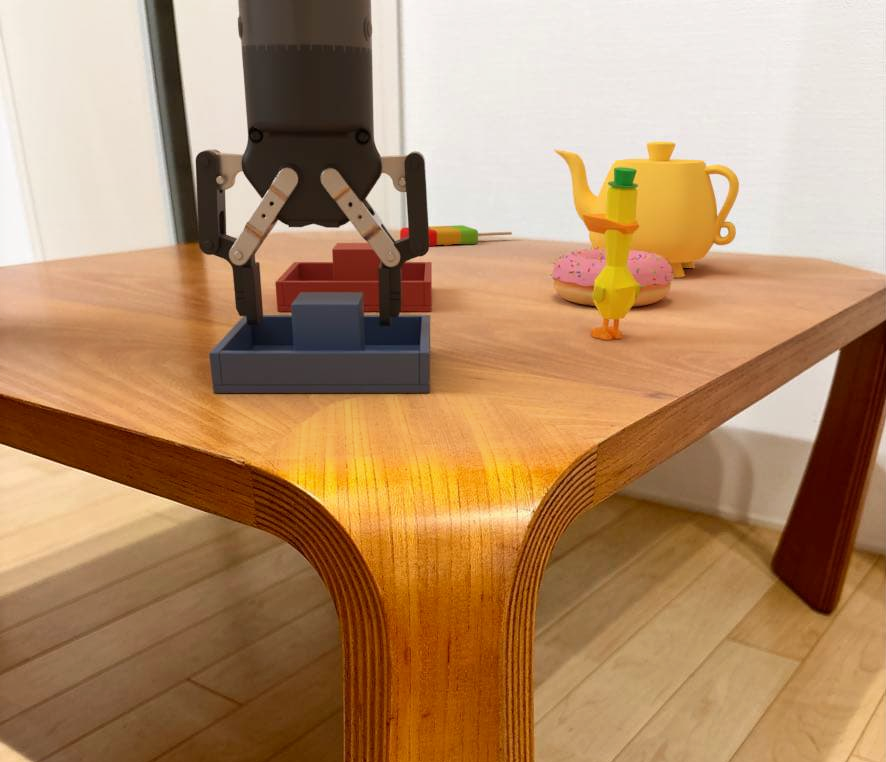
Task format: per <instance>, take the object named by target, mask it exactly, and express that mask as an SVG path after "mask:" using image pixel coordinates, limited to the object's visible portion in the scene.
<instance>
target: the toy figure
mask: <svg viewBox="0 0 886 762" xmlns="http://www.w3.org/2000/svg"><path fill="white" fill-rule="evenodd" d="M636 172H637V170H635V169H632V168H623V167H618V168H614V181H611V182H608V185H611V186H610V188H609V189H608V190H607V202H606V214H586V215H583V217H584V222H583V223H584V225H585V227H586V229H587V230H588V232H589V231H592V232H596V233H601V234H605V245H606V266H605V267H604V269H603V270H602V271H601V273H600V274H599V275H598V276H597V278H596V279H595V283H594V291H593V293H592V297H591V298H593V301H594V303H595V305H596V306H595V308H596V309H597V311H598V312H599V315H600V316H601V318H602V319H603V320H602V326H601V327H593V328H591V329H590V336H591V337H593V338H596V339H601V340H605V341H609V340H612V339H615V340H617V339H622V338H623V334H622V333H621V331H620V328H619V327H620V320H622V319H624V318H625V317H626V316H627V314H628V313H629V312H630V310H631V309H632V306H633V305H634V302H635V298H637V297H638V296H639V291H640V286H641V285H640V284H639V283H637V282H636V281H635V279H634V278H633V276H632V274H631V272H630V271H629V269H628V267H627V262H628V257H629V252H630V247H631V242H632V237H633V233H634V232H635V231H636V230H637V229H638V228H639V224H638V222H637V221H636V219H635V217H636V205H637V193H638V190H637V189H636V187H638V184H635V183H633V181H634V178H635V175H636ZM610 320H613V323H612V324H613V325H612V326H611V325H610V323H609V322H610Z"/></svg>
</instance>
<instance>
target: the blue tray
mask: <svg viewBox="0 0 886 762" xmlns="http://www.w3.org/2000/svg"><path fill="white" fill-rule="evenodd" d="M364 332H365V351H294V340H293V325H292V314H263V321H262V322H261V323H260V325H248V324H247V320H246V316H241V318H240V319H239V320H238V322H237V323H235V325H234V326H233V327H232V328H231V329H230V330H229V331H228V332H227V333H226V334H225V335H224V336H223V338H222V339H221V340H219V342H218V343H217V344H216V345H215V346H214V347H213V348H212V349H211V350H210V351H209V353H208V357H209V366H210V372H211V373H210V374H211V383H212V392H213V394H429V393H430V392H431V390H430V389H431V315H430V314H399V316H398V317H392V318H391V326H380V323H379V314H364Z"/></svg>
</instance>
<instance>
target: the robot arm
mask: <svg viewBox="0 0 886 762" xmlns="http://www.w3.org/2000/svg"><path fill="white" fill-rule="evenodd" d="M237 2H238V3H237V4H238V5H237V6H238V16H237V30H238V31H237V32H238V37H239V39H240V45H241V58H242V59H241V60H242V71H243V82H244V83H243V87H244V99H245V114H246V125H247V143H246V147H245V150H244V152H243V154H241V153H228V152H227V153H226V152H221V151H219V150H217V149H204V150H202V151H200V152H198V153H197V154H196V157H195V180H196V205H197V207H196V208H197V227H198V228H197V230H198V231H197V233H198V247H199V249H200V251H201V252H202V253H203V254H205V255H208V256H215V257H218V258H221V259H223V260H225V261H227V262H228V263H229V265H230V266H231V269H232V279H233V291H234V302H235V309H236V311H237V313H238V315H239V317H243V316H246V320H247V324H248V325H260V323H261V322H262V321H263V315H264V309H263V308H264V307H263V295H262V294H263V293H262V280H261V266H260V262H259V261H256V253H257V252H258V250H259V249H260V248H261V246H262V244H263V243H264V241H265V240H266V238H267V237H268V235H269V234H270V233H271V231H273V228H274V227H275V226H276V224H277V222H278V221H279V222H281V223H282V224H283V225H286V226H288V228H303V227H307V226H310V225H316V226H319V227H322V228H327V229H328V228H329V229H330V228H331V229H333V228H335V229H336V228H337V229H339V228H340V227H342V226H344V225H346V224H348V223H349V222H350V223H351V224H352V226H353V227H354V228H355V230H356V231H357V232H358V234H359V235H360V236H361V237H362V238H363V240H364V241H366V243H368V244H369V245H370V246H371V248H372V249H373V250H374V252H375V253H376V254H377V256H378V257H379V258H380V260H381V261H382V263H380V265H379V268H378V272H379V312H378V315H379V323H380V326H391V318H392V317H398V316H399V315H400V313H401V312H400V311H401V306H402V273H401V268H402V265H403V264H404V263H405V262H409V261H411V260H412V259H416V258H418V257H423V256H425V255H426V254H428V253H429V249H430V246H429V227H430V226H429V214H428V213H429V210H428V191H427V174H426V173H427V172H426V159H425V156H424V155H423V153H421V152H419V151H415V150H414V151H410V152H409V153H408V154H398V155H381V154H380V153H379V151H378V149H377V146H376V142H375V125H374V124H375V123H374V82H373V81H374V79H373V78H374V77H373V76H374V75H373V23H372V21H373V20H372V0H237ZM241 172H242V173H243V175H244V176H245V178H246V180H247V181H248V182H249V184H250V185H251V186H252V187H253V189H254V190H255V191H256V193H257V194H258V196H259V197H260V202H259V203H258V205H257V206H256V208H255V209H254V210H253V213H252V214H251V216H250V217H249V219H248V220H247V222H246V224H245V225H244V227H243V229H242V231H240V234H239V235H238V237H237V238H236V237H234V236H231V235H229V234H227V209H226V203H227V202H226V190H229V189H231V188H232V187H234V185H235V184H236V177H237V175H238V174H239V173H241ZM382 174H385V175H387V176H389V178H390V179H391V181H392V185H393V188H394V189H395V190H396V191H398V192H400V193H406V194H405V195H406V210H407V226H408V227H407V228H409V236H408V237H405V238H402V239H400V238H399V239H397V240H396V239H395V237H394V236H393V235H392V233H391V232H390V231H389V229H388V228H387V227H386V224H384V222H383V220H382V218H381V217H380V215H379V214H378V212H376V210H375V209H374V207H373V206H372V204H371V203H370V202H369V200H368V199H367V198H368V197H369V194H370V193H371V192H372V190H373V188H374V187H375V185H376V184H377V182H378V181H379V179H380V178H381V176H382Z"/></svg>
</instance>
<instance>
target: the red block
mask: <svg viewBox="0 0 886 762" xmlns="http://www.w3.org/2000/svg"><path fill="white" fill-rule="evenodd" d="M331 255H332V262H333V276H334V281H379V272H378V268H379V265H380V263H382V261H381V260H380V258H379V257H378V256H377V254H376V253H375V252H374V250H373V249H372V248H371V246H370V245H369V244H368V242H337V243H336V244H335V246H333V247H332V250H331Z"/></svg>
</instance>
